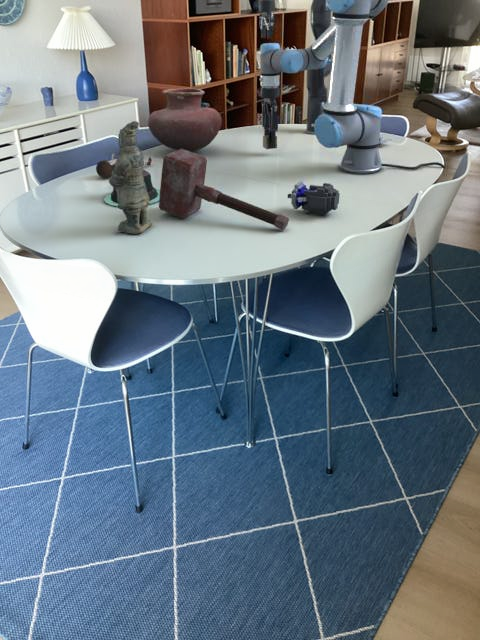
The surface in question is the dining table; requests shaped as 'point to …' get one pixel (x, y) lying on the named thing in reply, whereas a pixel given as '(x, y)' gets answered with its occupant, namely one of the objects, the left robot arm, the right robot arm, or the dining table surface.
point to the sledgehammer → (200, 190)
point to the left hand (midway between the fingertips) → (266, 38)
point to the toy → (315, 198)
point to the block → (266, 141)
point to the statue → (131, 182)
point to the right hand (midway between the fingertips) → (269, 146)
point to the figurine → (110, 167)
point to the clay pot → (185, 121)
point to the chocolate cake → (152, 192)
